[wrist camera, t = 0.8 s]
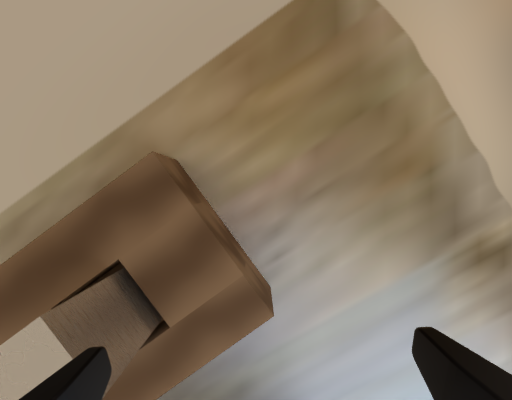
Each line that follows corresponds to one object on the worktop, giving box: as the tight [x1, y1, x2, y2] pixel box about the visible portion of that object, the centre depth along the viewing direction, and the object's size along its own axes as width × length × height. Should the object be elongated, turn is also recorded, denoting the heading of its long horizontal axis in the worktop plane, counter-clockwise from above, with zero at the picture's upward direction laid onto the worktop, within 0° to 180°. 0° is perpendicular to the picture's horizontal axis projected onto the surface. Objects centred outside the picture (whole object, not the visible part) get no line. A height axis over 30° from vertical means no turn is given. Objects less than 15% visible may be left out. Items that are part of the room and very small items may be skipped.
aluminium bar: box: [0, 267, 162, 400], centre depth 17 cm, size 5×5×10 cm
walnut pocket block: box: [0, 151, 274, 400], centre depth 21 cm, size 15×20×6 cm
